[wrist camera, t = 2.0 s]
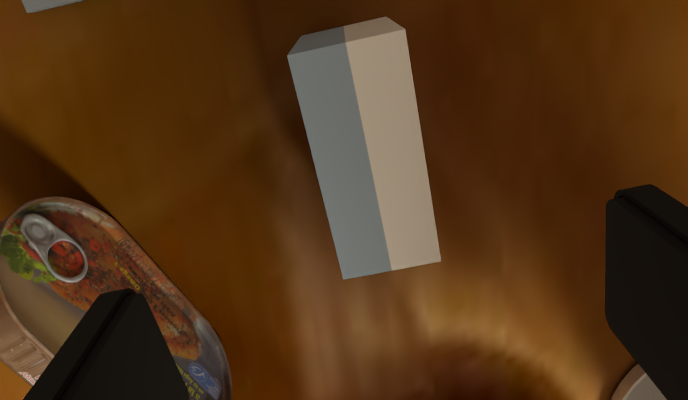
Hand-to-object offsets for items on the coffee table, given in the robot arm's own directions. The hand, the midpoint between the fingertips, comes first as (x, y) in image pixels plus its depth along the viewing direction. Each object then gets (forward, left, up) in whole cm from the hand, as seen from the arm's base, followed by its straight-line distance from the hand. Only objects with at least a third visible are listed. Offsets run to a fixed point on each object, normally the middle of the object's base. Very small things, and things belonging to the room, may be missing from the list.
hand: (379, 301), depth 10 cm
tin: (+14, +7, -16) cm, 22 cm away
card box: (0, 0, -16) cm, 16 cm away
